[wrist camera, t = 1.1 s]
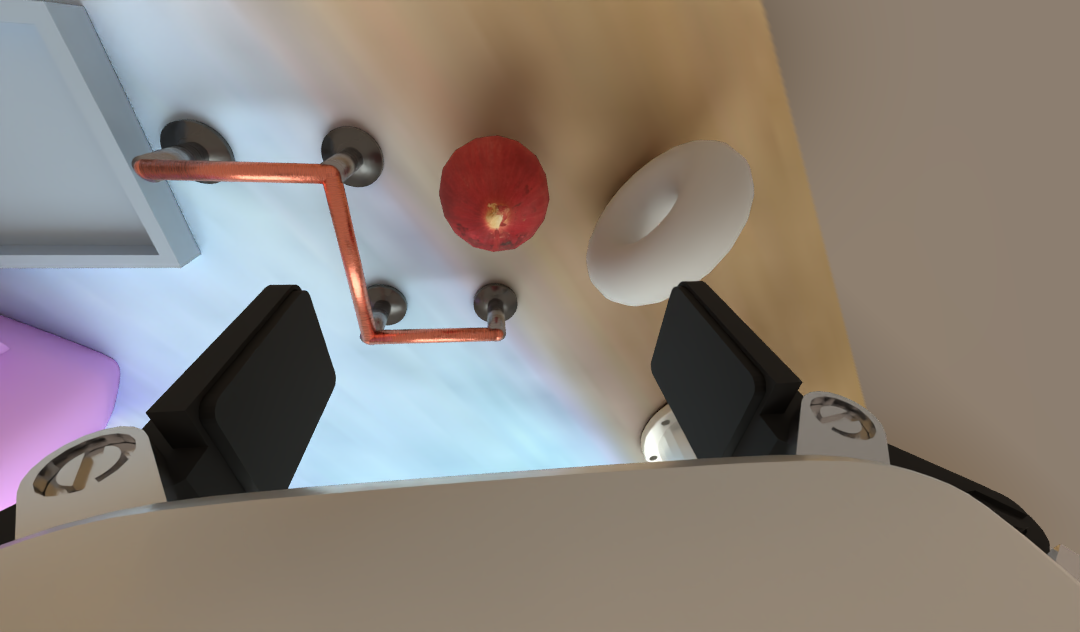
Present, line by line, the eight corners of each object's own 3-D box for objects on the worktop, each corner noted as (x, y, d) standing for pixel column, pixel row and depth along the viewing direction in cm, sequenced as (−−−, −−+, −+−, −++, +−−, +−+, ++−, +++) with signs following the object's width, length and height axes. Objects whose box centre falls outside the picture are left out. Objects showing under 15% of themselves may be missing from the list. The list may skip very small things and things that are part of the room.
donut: (672, 112, 23) (778, 143, 14) (705, 151, 24) (819, 199, 16) (562, 239, 26) (596, 321, 18) (597, 266, 28) (643, 353, 20)
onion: (544, 216, 25) (565, 272, 19) (458, 229, 25) (448, 290, 19) (534, 119, 22) (555, 145, 15) (435, 133, 22) (413, 165, 15)
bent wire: (516, 319, 30) (520, 356, 26) (247, 325, 27) (210, 366, 24) (521, 133, 22) (527, 148, 19) (153, 118, 20) (78, 131, 16)
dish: (201, 254, 24) (181, 267, 22) (-28, 253, 22) (-66, 268, 21) (83, 6, 17) (43, 1, 16) (-255, -19, 16) (-336, -27, 14)
